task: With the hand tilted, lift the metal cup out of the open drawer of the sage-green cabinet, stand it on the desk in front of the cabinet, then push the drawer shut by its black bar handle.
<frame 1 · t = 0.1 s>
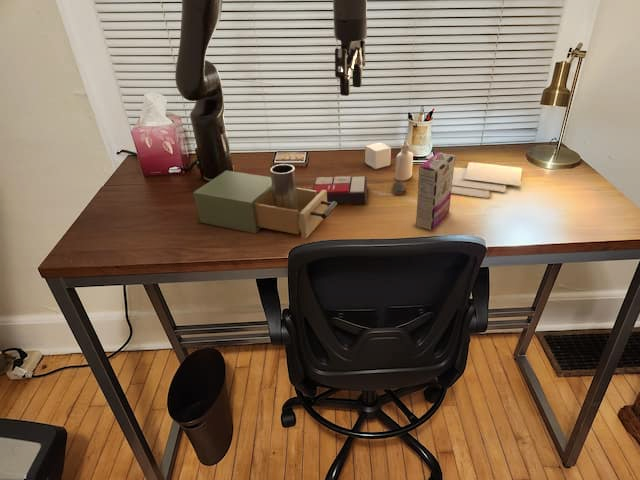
hand: (351, 90, 108), 29 cm above the table, tool pointing down, fingers open, 8 cm apart
metal cup: (287, 216, 112), point 2 cm above the table, touching drawer
cream white cube: (377, 164, 145), on the table
candy bar box: (431, 220, 115), on the table
eye dropper bottle: (403, 178, 136), on the table
cabinet: (243, 214, 117), on the table
block: (398, 191, 129), on the table
red and black box: (340, 196, 126), on the table
drawer: (296, 210, 110), point 4 cm above the table, slide at 12.5 cm, touching metal cup
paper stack: (477, 180, 134), on the table
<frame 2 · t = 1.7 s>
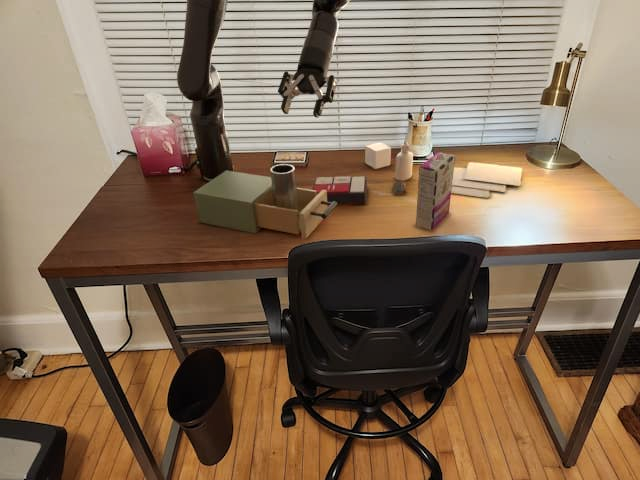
hand: (300, 114, 108), 25 cm above the table, tool tilted 45°, fingers open, 8 cm apart
nothing on the table moved.
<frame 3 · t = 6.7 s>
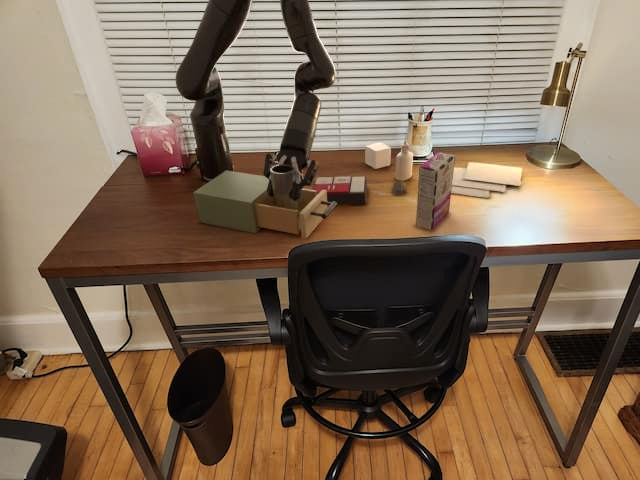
hand: (282, 197, 107), 8 cm above the table, tool tilted 45°, fingers closed on metal cup, 6 cm apart
metal cup: (287, 216, 112), point 2 cm above the table, touching drawer, gripper
everything else where it was.
when the fingers open (6 cm above the table, at t = 17.5 s): metal cup stays where it is, on the table.
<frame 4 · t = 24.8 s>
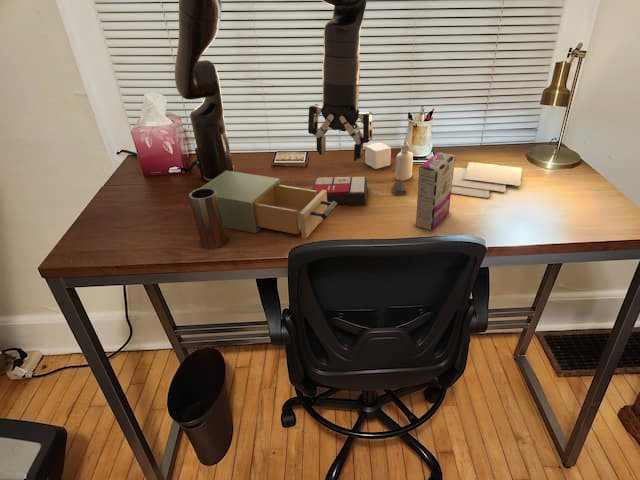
hand: (339, 156, 98), 20 cm above the table, tool pointing down, fingers open, 8 cm apart
metal cup: (214, 241, 106), on the table
drawer: (296, 210, 110), point 4 cm above the table, slide at 12.5 cm
everything else where it was.
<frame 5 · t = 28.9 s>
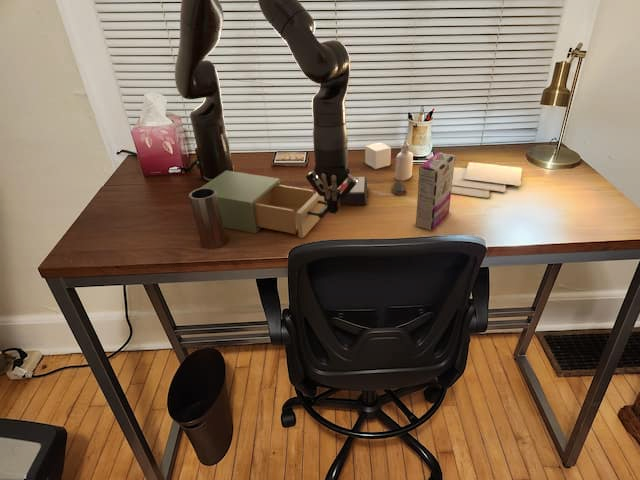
hand: (333, 212, 107), 6 cm above the table, tool pointing down, fingers closed
drawer: (293, 209, 111), point 4 cm above the table, slide at 11.7 cm, touching gripper
everything else where it was.
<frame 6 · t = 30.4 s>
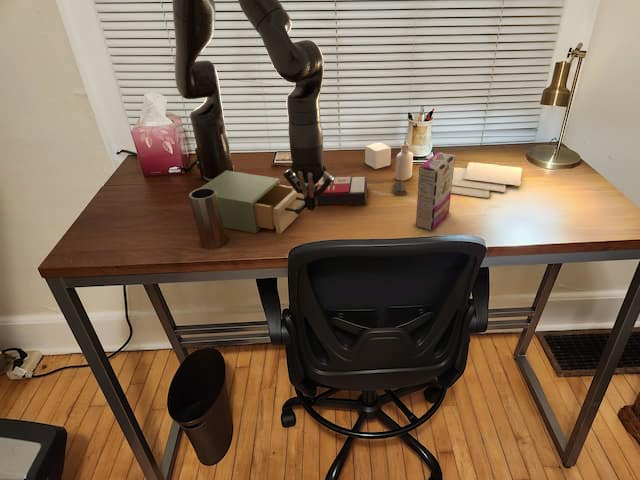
hand: (311, 209, 109), 5 cm above the table, tool pointing down, fingers closed
drawer: (272, 205, 112), point 4 cm above the table, slide at 5.6 cm, touching gripper
everything else where it was.
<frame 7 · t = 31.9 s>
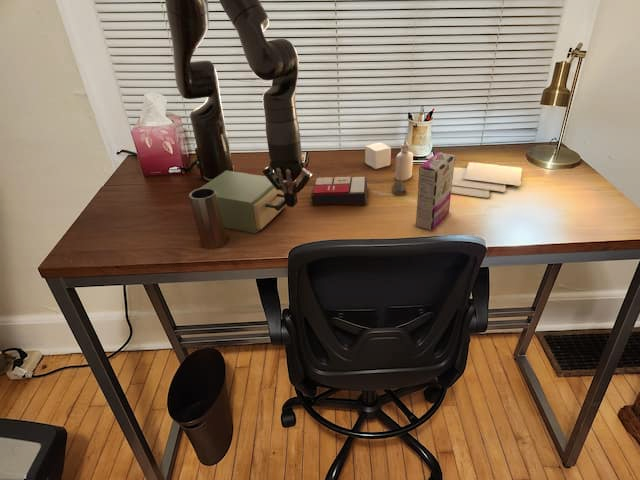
hand: (291, 205, 110), 5 cm above the table, tool pointing down, fingers closed
drawer: (253, 202, 114), point 4 cm above the table, slide at 0.0 cm, touching cabinet, gripper
everything else where it was.
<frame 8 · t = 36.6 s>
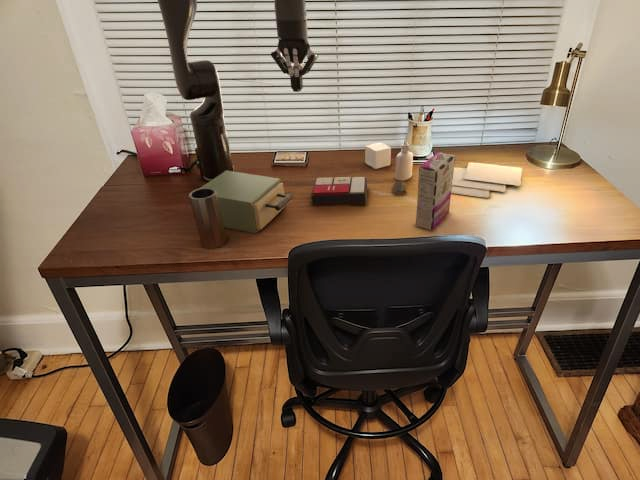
hand: (297, 91, 117), 27 cm above the table, tool pointing down, fingers closed
drawer: (253, 202, 114), point 4 cm above the table, slide at 0.0 cm, touching cabinet
everything else where it was.
at the end: metal cup inside the target area (0.3 cm from its centre), on the table; metal cup tilted 0°; drawer slide at 0.0 cm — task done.
